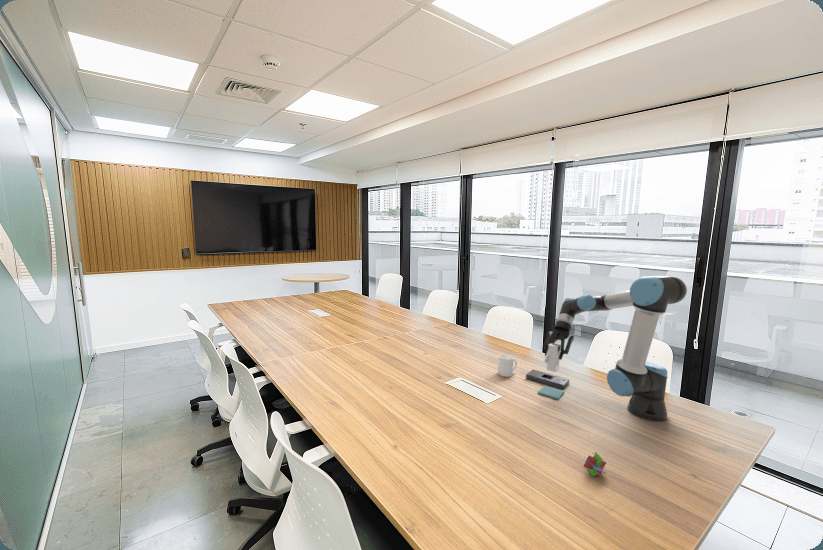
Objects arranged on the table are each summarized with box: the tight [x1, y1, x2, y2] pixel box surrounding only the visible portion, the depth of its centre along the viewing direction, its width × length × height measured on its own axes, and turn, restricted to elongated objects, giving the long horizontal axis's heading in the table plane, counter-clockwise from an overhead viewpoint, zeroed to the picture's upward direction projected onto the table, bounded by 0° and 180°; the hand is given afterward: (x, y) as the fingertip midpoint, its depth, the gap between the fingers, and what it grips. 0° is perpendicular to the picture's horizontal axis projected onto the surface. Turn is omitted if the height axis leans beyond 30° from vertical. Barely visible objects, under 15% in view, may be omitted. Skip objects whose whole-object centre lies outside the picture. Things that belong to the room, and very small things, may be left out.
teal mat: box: [537, 385, 565, 401], centre depth 178 cm, size 10×10×1 cm
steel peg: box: [546, 343, 561, 373], centre depth 176 cm, size 4×4×13 cm
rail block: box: [525, 368, 570, 390], centre depth 193 cm, size 20×10×2 cm, turn 50°
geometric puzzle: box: [581, 451, 607, 478], centre depth 119 cm, size 7×7×8 cm
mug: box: [497, 354, 518, 378], centre depth 202 cm, size 12×8×10 cm
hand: (550, 362), depth 174 cm, fingers closed on steel peg, 4 cm apart
